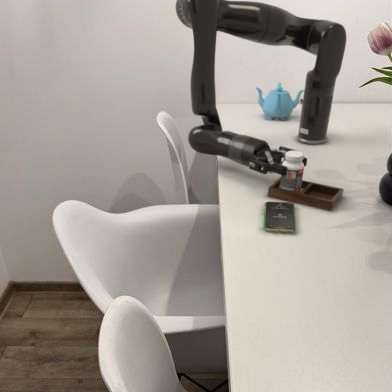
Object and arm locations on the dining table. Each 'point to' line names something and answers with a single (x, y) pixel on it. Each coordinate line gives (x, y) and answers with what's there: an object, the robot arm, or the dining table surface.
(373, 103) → the dining table surface
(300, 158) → the pill bottle
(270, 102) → the teapot
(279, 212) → the smartphone
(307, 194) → the tray
